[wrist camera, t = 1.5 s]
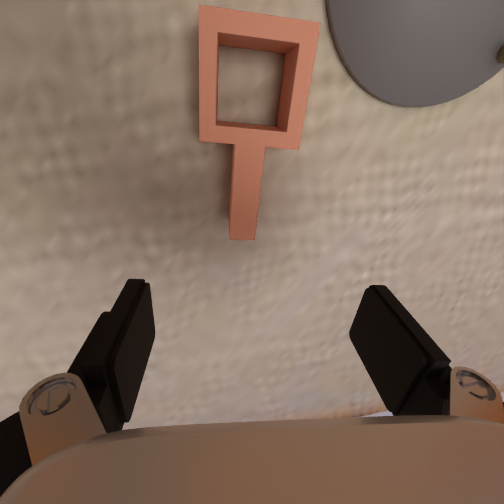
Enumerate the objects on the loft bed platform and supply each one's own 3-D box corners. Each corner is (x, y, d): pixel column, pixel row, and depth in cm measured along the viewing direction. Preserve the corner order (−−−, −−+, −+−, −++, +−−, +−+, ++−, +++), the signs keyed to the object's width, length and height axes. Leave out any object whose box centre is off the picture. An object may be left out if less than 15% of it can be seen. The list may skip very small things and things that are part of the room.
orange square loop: (203, 23, 17) (198, 4, 14) (302, 37, 18) (320, 22, 14) (203, 217, 24) (199, 238, 20) (274, 221, 25) (283, 241, 21)
